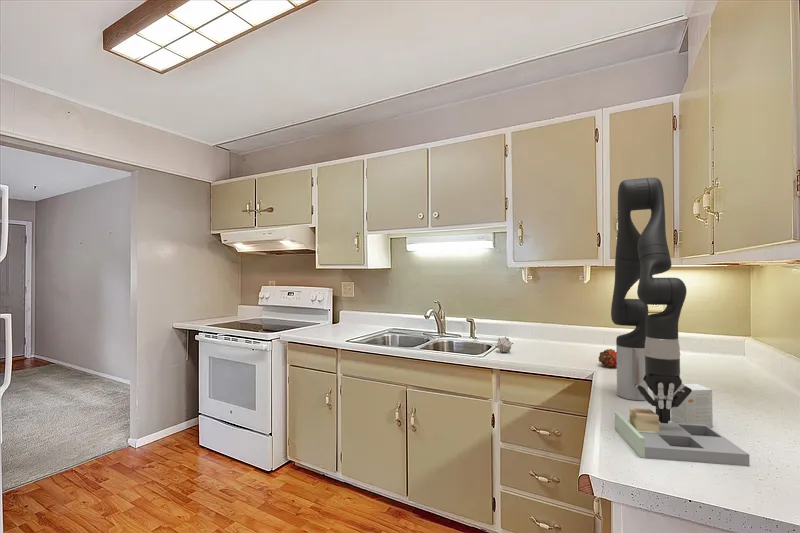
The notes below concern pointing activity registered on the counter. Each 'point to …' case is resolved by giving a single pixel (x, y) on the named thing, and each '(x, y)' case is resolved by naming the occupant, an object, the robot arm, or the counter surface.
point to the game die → (504, 345)
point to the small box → (694, 407)
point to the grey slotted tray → (681, 443)
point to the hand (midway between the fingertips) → (663, 422)
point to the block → (644, 419)
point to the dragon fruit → (608, 358)
